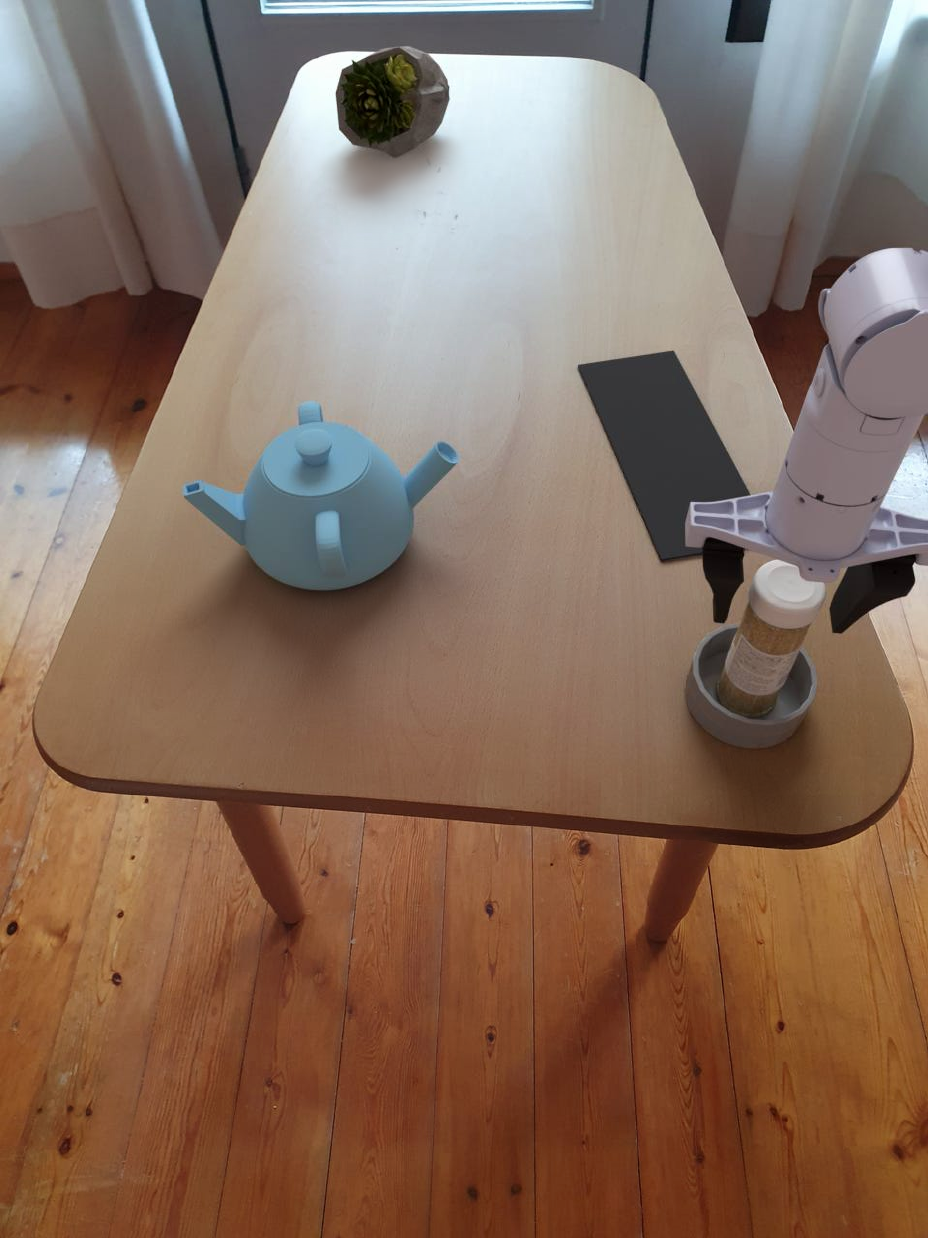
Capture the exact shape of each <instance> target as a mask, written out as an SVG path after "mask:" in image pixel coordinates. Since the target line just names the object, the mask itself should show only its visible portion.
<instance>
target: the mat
mask: <svg viewBox="0 0 928 1238" xmlns="http://www.w3.org/2000/svg"><path fill="white" fill-rule="evenodd" d="M577 368H578V371H579V373H580V376H581V378H582V380H583V383H584V385H585V387H586V390H587V392H588V395H589V397H590V399H591V401H592V403H593V406H594V408H595V411H596V413H597V415H598V417H599V420H600V422H601V424H602V426H603V427H602V428H603V429H604V431H605V434H606V436H607V439H608V441H609V444H610V445H611V448H612V450H613V452H614V455H615V458H616V459H617V461H618V463H619V466H620V469H621V471H622V473H623V476H624V478H625V481H626V482H627V485H628V488H629V490H630V493H631V495H632V497H633V499H634V501H635V505H636V507H637V508H638V511H639V513H640V516H641V518H642V521H643V522H644V525H645V527H646V529H647V531H648V534H649V537H650V540H651V542H652V543H653V546H654V548H655V550H656V552H657V554H658V557H659V560H660V562H667V561H672V560H679V559H683V558H690V557H695V556H696V557H697V556H702V547H700V548H698V547H687V546H686V542H685V522H686V518H687V514H688V510H689V506H690V502H717V501H723V500H729V499H734V498H739V497H745V496H750V495H751V493H750V491H749V488H747V485H746V483H745V481H744V480H743V478H742V476H741V474H740V472H739V471H738V468H737V467H736V464H735V462H734V461H733V459H732V457H731V455H730V454H729V452H728V449H727V448H726V446H725V444H724V442H723V439H722V438H721V436H720V434H719V432H718V431H717V428H716V427H715V425H714V423H713V421H712V419H711V417H710V416H709V414H708V412H707V411H706V410H707V409H706V408H705V406H704V404H703V402H702V401H701V399H700V397H699V395H698V393H697V391H696V389H695V387H694V386H693V384H692V382H691V380H690V378H689V376H688V375H687V372H686V371H685V369H684V367H683V365H682V363H681V360H680V359H679V358H678V356H677V353H676V352H675V350H667V351H666V350H665V351H660V352H659V351H658V352H653V353H646V354H639V355H634V356H626V357H620V358H614V359H607V360H601V361H594V362H587V363H580V364H577Z"/></svg>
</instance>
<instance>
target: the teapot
mask: <svg viewBox="0 0 928 1238" xmlns="http://www.w3.org/2000/svg"><path fill="white" fill-rule="evenodd" d="M297 407H298V408H297V416H298V417H297V418H298V425H296V426H293V427H291V428H288V429H287V430H285V431H283V432H281V433H280V434H278V435H277V436H276V437H275V438H274V439H272V441H271V442H269V444H268V445H267V446H266V448H265V449H264V450H263V452H262V453H261V455H260V456H259V458H258V459H257V461H256V463H255V465H254V467H253V468H252V470H251V472H250V474H249V477H248V479H247V481H246V485H245V487H244V490H243V493H233V492H232V491H229V490H227V489H223V488H220V487H218V486H216V485H213V484H210V483H207V482H205V481H203V478H201V479H198V480H195V481H191V482H188V483H184V484H182V485H181V486H182V487H181V488H182V495H183V498H184V499H185V500H186V501H187V502H188V503H189V504H190V505H192V506H193V507H194V508H195V509H197V510H198V511H199V512H200V513H201V514H202V515H204V516H205V517H206V518H207V519H208V520H210V521H211V522H212V523H213V524H214V525H215V526H216V527H218V528H219V529H221V531H223V532H224V533H225V534H227V535H228V536H229V537H230V538H231V539H232V540H233V541H234V542H236V543H237V544H238V545H239V546H240V547H241V546H243V547H244V546H245V548H246V550H247V553H248V554H249V556H250V558H251V560H253V562H254V563H255V564H256V565H257V567H259V568H260V569H261V570H262V571H263V572H264V573H265V574H267V576H269V577H271V578H273V579H274V580H276V581H278V582H280V583H282V584H285V585H287V586H291V587H294V588H299V589H303V590H309V591H335V590H343V589H347V588H352V587H353V586H357V585H360V584H362V583H365V582H366V581H369V580H371V579H373V578H375V577H376V576H378V575H380V574H381V573H383V572H384V571H385V570H387V569H388V568H389V567H390V566H392V565H393V564H394V563H395V562H396V561H397V560H398V559H399V558H400V556H401V555H403V553H404V551H405V549H406V548H407V546H408V544H409V542H410V540H411V537H412V534H413V530H414V527H415V511H414V508H415V507H416V506H417V505H418V504H419V503H420V502H421V501H422V500H423V499H424V498H425V497H426V496H427V495H428V494H429V493H430V492H431V491H432V490H433V489H435V487H436V486H437V485H438V484H439V482H441V480H442V479H444V478H445V476H447V474H448V473H449V472H450V471H452V469H453V468H454V467H455V466H457V464H458V463H459V462H460V455H459V453H458V452H457V450H456V449H455V448H454V446H452V445H451V444H450V443H449V442H446V441H443V440H438V441H437V442H436V443H435V444H434V445H432V447H431V448H430V449H429V451H427V452H426V453H425V455H424V456H423V457H422V458H421V459H420V460H419V461H418V462H417V463H416V464H415V466H413V468H412V469H411V470H410V471H409V472H408V473H407V474H406V475H405V477H403V474H402V473H401V471H400V469H399V467H397V465H396V464H395V462H394V461H393V460H392V459H391V457H390V456H389V455H388V454H387V453H386V452H385V451H384V450H383V449H381V448H380V447H379V446H378V445H377V444H376V443H375V442H374V441H372V440H371V439H370V438H368V437H367V436H366V435H364V434H363V433H362V432H360V431H358V430H356V429H354V428H353V427H351V426H348V425H346V424H343V423H338V422H334V421H333V422H332V421H324V418H323V411H322V406H321V404H320V403H319V402H317V401H313V400H310V401H309V400H308V401H304V402H301V403H299V405H298V406H297Z"/></svg>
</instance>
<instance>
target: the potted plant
mask: <svg viewBox="0 0 928 1238" xmlns="http://www.w3.org/2000/svg"><path fill="white" fill-rule="evenodd" d="M448 81H449V80H448V78H447V76H446V75H445V73H444V71H443V69H442V67H441V66H440V64H439V63H438V62H436V60H435V59H434V58H433V57H432V56H431V55H430V53H427V52H426V51H422V50H420V49H417V48H415V47H412V46H410V45H404V46H393V47H384V48H381V49H379V50H377V51H375V52H373V53H371V54H369V55H367V56H365V57H363V58H361V59H359V60H357V61H356V60H354V59H351V64H349V65H348V66H346V67H343V68H342V69H341V72H340V75H339V78H338V82H337V86H336V90H335V94H334V95H335V102H336V104H335V105H336V113H337V124H338V130H339V131H340V132H341V133H342V134H343V136H344V137H345V138H346V139H347V140H348V142H350V144H351V145H353V146H356V147H361V148H365V149H371V150H376V151H381V152H383V153H385V154H387V155H388V156H390V157H392V158H394V159H398V158H399V157H401V156H403V155H405V154H407V153H408V152H411V151H413V150H415V149H416V148H417V147H419V146H420V145H422V144H423V143H424V142H426V141H427V140H429V139H431V138H432V137H433V136H434V135H435V134H436V133H437V130H439V128H440V127H441V125H442V123H443V121H444V118H445V115H446V112H447V109H448V106H449V103H450V99H451V98H450V85H449V82H448Z"/></svg>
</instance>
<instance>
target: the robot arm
mask: <svg viewBox="0 0 928 1238" xmlns="http://www.w3.org/2000/svg"><path fill="white" fill-rule="evenodd" d="M819 294H820V295H819V297H818V316H819V319H820V323H821V325H822V328H823V330H824V331H825V333H826V335H827V336H828V343H827V344H826V345H825V346H824V347H823V350H822V352H821V356H820V358H819V361H818V365H817V366H816V370H815V373H814V376H813V379H812V382H811V383H810V386H809V388H808V389H807V393H806V395H805V399H804V401H803V405H802V407H801V410H800V413H799V416H798V419H797V422H796V425H795V428H794V429H793V433H792V436H791V439H790V442H789V445H788V447H787V450H786V453H785V457H784V459H783V463H782V465H781V468H780V471H779V474H778V477H777V480H776V482H775V486H774V488H773V490H772V491H767V492H762V493H761V492H760V493H756V494H750V496H745V497H739V498H734V499H729V500H723V501H717V502H690V506H689V510H688V514H687V518H686V522H685V542H686V546H687V547H698V548H700V547H702V555H701V559H702V561H701V563H702V570H703V574H704V578H705V581H706V582H707V583H708V585H709V587H710V589H711V592H712V618H713V619H712V620H713V622H714V623H715V624H725V623H726V621H727V620H728V617H729V614H730V609H731V605H732V601H733V599H734V597H735V595H736V593H737V591H738V590H739V588H740V587H741V585H742V584H744V582H745V572H744V558H745V549H746V550H748V551H752V552H755V553H757V554H760V555H763V556H765V557H769V558H772V559H774V560H781V561H783V562H786V563H789V564H792V565H795V566H797V567H798V568H799V573H800V576H801V578H803V579H804V580H806V581H811V582H823V583H824V584H832V583H836V582H837V580H838V578H839V576H840V573H841V569H845V568H846V570H845V572H844V575H843V576H842V578H841V581H840V582H839V584H838V586H837V588H836V590H835V592H834V594H833V596H832V599H831V602H830V606H829V617H830V624H831V625H830V626H831V633H832V634H839V635H840V634H841V635H842V634H843V633H845V632H846V631H847V630H848V629H849V628H850V627H851V626H853V625H854V624H855V623H856V622H858V621H859V620H860V619H861V618H863V617H864V616H866V615H867V614H868V613H869V612H871V611H873V610H874V609H876V608H878V607H880V606H882V605H884V604H886V603H889V602H891V601H894V600H897V599H901V598H905V597H908V595H909V594H910V593H911V591H912V589H913V587H914V586H915V584H916V576H915V575H916V574H915V571H914V570H915V569H914V565H915V564H916V565H918V566H924V567H928V518H927V519H926V518H921V517H916V516H913V515H909V514H905V513H903V512H900V511H896V510H893V509H889V508H887V507H884V506H882V504H883V502H884V500H885V498H886V496H887V493H888V492H889V490H890V488H891V485H892V483H893V481H894V479H895V477H896V475H897V473H898V470H899V468H900V467H901V465H902V463H903V460H904V459H905V456H906V454H907V452H908V450H909V448H910V446H911V444H912V441H913V440H914V438H915V436H916V434H917V432H918V430H919V427H920V426H921V424H922V421H923V419H924V417H925V416H926V415H927V414H928V251H926V250H924V249H920V250H919V251H917V250H914V248H913V247H890V248H884V249H880V250H877V251H874V252H871V253H869V254H867V255H865V256H863V257H861V258H859V259H857V261H855V262H854V263H852V264H851V265H850V266H849V267H848V268H846V270H845V271H844V272H843V273H842V274H841V275H840V276H839V277H838V278H837V280H836V281H835V282H834V284H833V285H832V286H831V288H824V289H822V290H821V291H820V293H819Z"/></svg>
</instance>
